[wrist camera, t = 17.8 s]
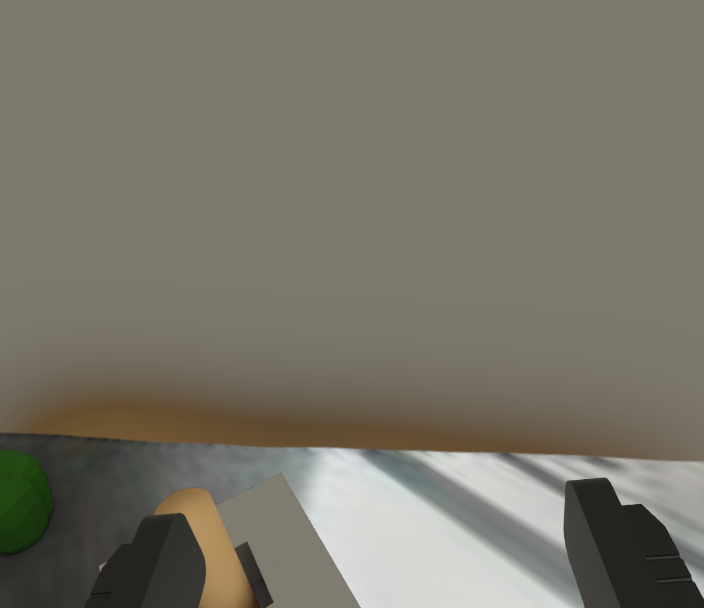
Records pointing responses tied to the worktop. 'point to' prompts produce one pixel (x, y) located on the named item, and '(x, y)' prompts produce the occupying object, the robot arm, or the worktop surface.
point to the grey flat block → (282, 548)
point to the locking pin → (212, 550)
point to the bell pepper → (22, 501)
